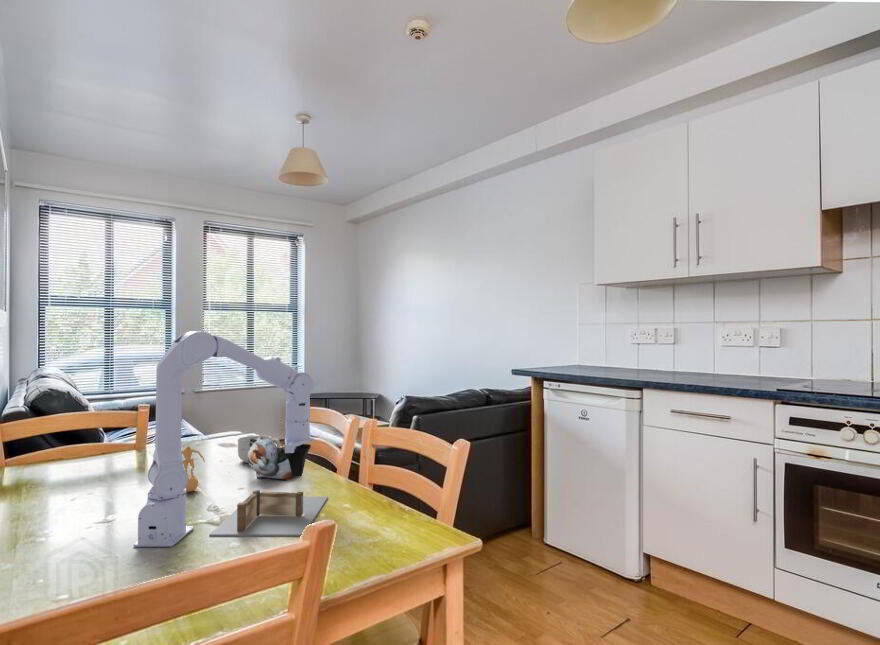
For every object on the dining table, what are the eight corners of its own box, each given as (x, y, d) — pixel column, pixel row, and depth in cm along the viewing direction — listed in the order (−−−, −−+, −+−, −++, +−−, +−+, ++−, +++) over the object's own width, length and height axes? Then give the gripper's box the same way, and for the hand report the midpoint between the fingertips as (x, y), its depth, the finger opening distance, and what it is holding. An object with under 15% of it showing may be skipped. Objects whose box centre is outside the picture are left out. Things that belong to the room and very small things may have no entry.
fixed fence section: (244, 531, 109) (244, 504, 109) (236, 531, 108) (236, 504, 109) (260, 513, 119) (260, 489, 119) (253, 513, 119) (254, 489, 119)
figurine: (175, 496, 132) (176, 451, 132) (168, 491, 136) (169, 447, 136) (208, 489, 138) (209, 445, 138) (201, 484, 142) (201, 442, 142)
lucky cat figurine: (301, 479, 147) (282, 442, 141) (261, 498, 144) (240, 461, 139) (297, 453, 160) (279, 418, 155) (260, 470, 158) (241, 435, 152)
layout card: (303, 536, 107) (303, 533, 107) (209, 536, 107) (209, 533, 107) (327, 498, 131) (327, 496, 131) (250, 498, 131) (250, 496, 131)
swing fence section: (259, 514, 117) (259, 492, 117) (261, 512, 119) (262, 490, 119) (300, 516, 116) (300, 493, 116) (302, 514, 118) (303, 491, 118)
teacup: (230, 464, 164) (230, 439, 164) (251, 456, 174) (251, 432, 174) (266, 467, 160) (266, 442, 160) (286, 459, 170) (286, 435, 170)
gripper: (306, 426, 117) (305, 484, 117) (320, 415, 132) (320, 467, 131) (276, 425, 117) (275, 484, 117) (293, 415, 132) (293, 467, 131)
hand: (297, 475), depth 124 cm, fingers closed
